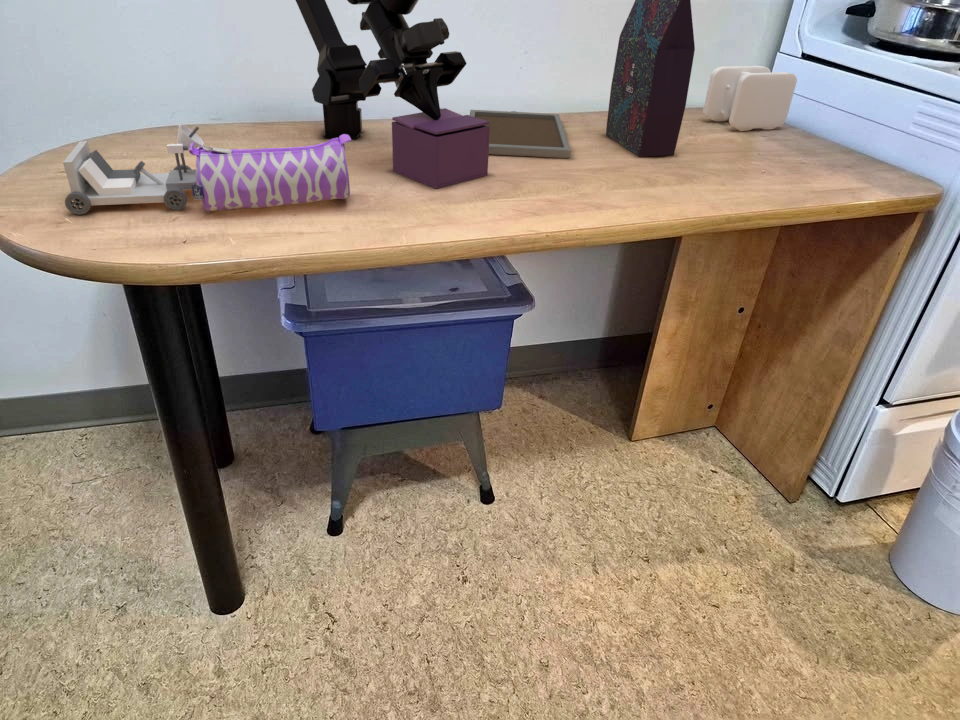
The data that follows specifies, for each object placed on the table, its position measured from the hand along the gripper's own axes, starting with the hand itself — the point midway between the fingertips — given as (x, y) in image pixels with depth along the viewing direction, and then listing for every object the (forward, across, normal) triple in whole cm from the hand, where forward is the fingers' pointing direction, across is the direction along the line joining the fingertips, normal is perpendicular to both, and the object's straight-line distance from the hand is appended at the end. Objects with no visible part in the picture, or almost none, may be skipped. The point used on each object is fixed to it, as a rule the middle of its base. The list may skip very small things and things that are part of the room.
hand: (437, 118), depth 111 cm
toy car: (-5, -42, +18) cm, 46 cm away
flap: (-1, 0, +2) cm, 2 cm away
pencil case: (+4, -29, +8) cm, 30 cm away
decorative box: (+14, +43, -1) cm, 45 cm away
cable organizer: (+17, +77, -4) cm, 79 cm away
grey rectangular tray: (0, +28, +13) cm, 31 cm away
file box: (+7, 0, +6) cm, 9 cm away
